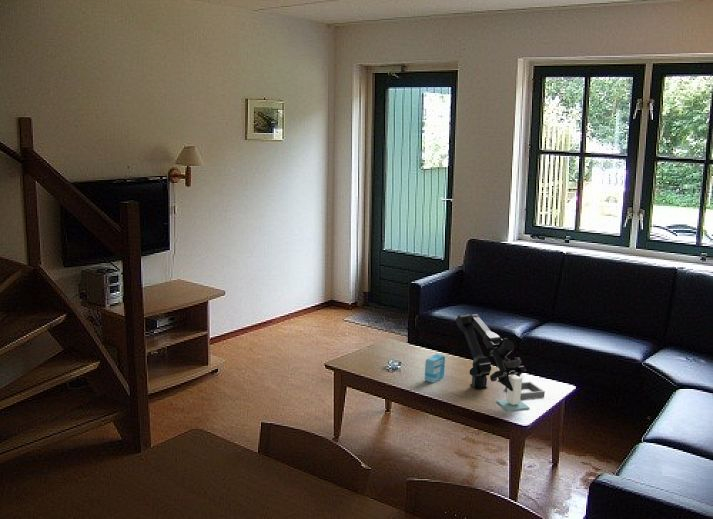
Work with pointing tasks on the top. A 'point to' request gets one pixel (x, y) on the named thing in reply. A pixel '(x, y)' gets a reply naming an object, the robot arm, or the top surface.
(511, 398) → the block
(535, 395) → the gray square frame
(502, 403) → the teal mat
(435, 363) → the light blue upright slab
